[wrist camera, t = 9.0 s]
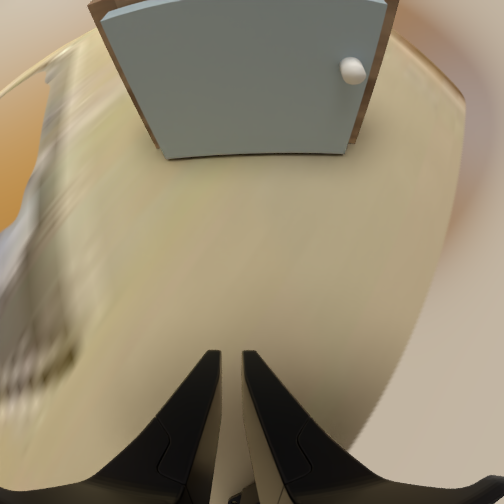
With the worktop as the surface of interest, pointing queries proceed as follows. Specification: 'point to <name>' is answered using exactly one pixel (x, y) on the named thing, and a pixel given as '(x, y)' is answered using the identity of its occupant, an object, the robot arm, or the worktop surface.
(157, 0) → the door
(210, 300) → the worktop surface
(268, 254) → the worktop surface
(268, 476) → the robot arm
